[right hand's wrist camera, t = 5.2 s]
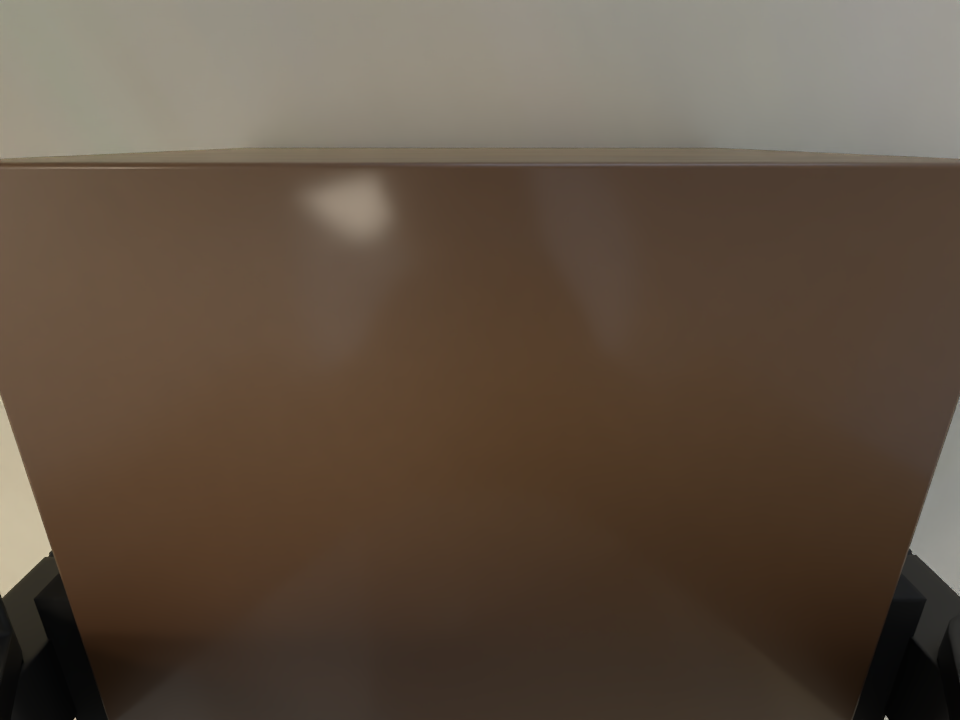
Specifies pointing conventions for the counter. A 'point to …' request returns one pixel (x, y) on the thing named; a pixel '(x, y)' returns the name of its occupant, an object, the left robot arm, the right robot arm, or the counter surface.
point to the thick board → (480, 423)
